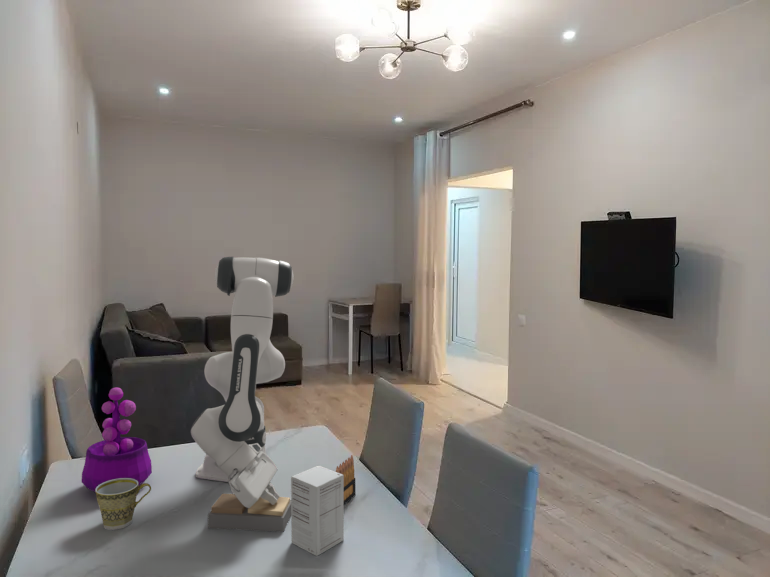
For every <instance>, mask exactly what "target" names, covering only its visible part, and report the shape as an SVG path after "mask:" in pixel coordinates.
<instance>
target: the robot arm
mask: <svg viewBox="0 0 770 577" xmlns="http://www.w3.org/2000/svg"><path fill="white" fill-rule="evenodd" d="M292 267H293V266H291V264H290V263H289V262H287V261H284V260H275V259H271V258H265V257H259V256H258V257H257V256H256V257H249V256H247V257H243V256H241V257H240V256H239V257H238V256H237V257H234V256H225V257H222V258H221V259H220V260H219V261H218V264H217V265H216V267H215V270H214V281H215V284H216V287H217V288H218V290H219V291H221V292H222V293H224V294H227V296H229V297H230V295H231V294H234V296H233V300H232V301H233V302H232V306H231V315H230V341H231V351H228V352H222V353H219V354H216V355H212V356H211V357H209V358H208V359H207V360H206V363H205V365H204V378H205V380H206V382H207V383H208V385H210V386H211V387H212V388H214V389H215V390H217V391H218V392H219V393H220V394H221V396H222V397H223V399H224V401H225V403H224V404H222V405H220V406H216V407H212V408H206V409H204V410H203V411H202V412H201V413H200V414H199V416H197V417H196V419H195V421H194V422H193V423H192V425H191V428H190V435H191V438H192V439H193V440H194V441H195V443H196V444H197V445H198V447H199V448H200V449H201V450H202V451H203V453H205V456H204V459H203V463H201V464H200V465H199V466H198V467H197V469H196V471H195V477H196V478H197V479H202V480H209V481H210V480H211V481H218V482H225V483H228V484H229V488H230V490H231V493H232V494H234V495H235V496H236V497H237V499H238V500H239V501H240V502H241V503H242V504H243V506H245V507H247V508H250V507H251V506H252V505H253V504H254V503H256V502H257V500H258V499H259V498H260V497H261V498H262V499H265V500H267V501H269V502H270V503H271V504H272V505H274V504H275V503H276V502H277V500H278V499H279V497H281V495H280V494H279V493H278V492H277V491H276V489H275V486H274V484H273V483H272V482H271V481H272V479H273V478H274V476H275V475H276V473H277V472H278V467H277V465H276V464H275V462H274V461H273V459H272V458H271V457H270V456H269V455H268V454H267V453H266V440H267V431H266V426H265V406H264V403H263V401H262V400H261V398H259V397H257V396H256V390H257V384H263V383H269V382H271V381H274V380H277V379H279V378H281V377H282V375H283V374H284V372H285V368H286V361H285V357H284V355H283V353H282V352H281V351H280V350H279V349H277V348H276V347H275V346H274V345H273V343H272V342H271V339H270V337H271V334H272V329H273V320H274V298H273V296H275V298H276V297H283V296H285V295H287V294H289V293H290V291H291V289H292V287H293V285H294V278H295V276H294V271H293V268H292Z"/></svg>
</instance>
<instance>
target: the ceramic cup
mask: <svg viewBox="0 0 770 577" xmlns="http://www.w3.org/2000/svg"><path fill="white" fill-rule="evenodd" d="M138 484H139V483H138V481H137V480H135V479H131V478H119V479H113V480H109V481H106V482H104V483H102V484H100V485H98V486H97V487H96V489H95V496H96V501H97V504H98V507H99V511H100V515H101V520H102V523H103V524H102V525H103V528H104V529H106V530H110V531H115V530H120V529H125V528H126V527H128V526H130V525H131V524H132V523H133V517H134V513H135V508H137V506H138V504H140V503H141V502H142V500H143V499H144V498H145V497H146V496H147V495H148V494H150V493H151V491H152V487H151V484H149V483H148V482H147V483H146V482H144V483H142V484H140V485H138ZM145 487H148V488H149V489H148V491H147V492H146V493H145V494H144V495H142V496H141V497H140V499H139V500H137V496H138V494H139V492H140V490H141V489H142V488H145ZM136 500H137V501H136Z"/></svg>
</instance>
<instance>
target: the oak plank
mask: <svg viewBox="0 0 770 577" xmlns="http://www.w3.org/2000/svg"><path fill="white" fill-rule="evenodd" d="M290 500H291V497H286V496H280V497H279V499H278V500H277V502H276V503H275V504H274V505H272V504H271V503H270V502H269V501H267V500H265V499H262V498H261V497H260V498H259V499H258V500H257V502H256V503H254V504H253V505H252V506H251V507H250V508H248V513H252V514H265V515H277V516H283V514H284V512H285V510H286V508H287V506H288V504H289V503H290Z"/></svg>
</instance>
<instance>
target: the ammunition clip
mask: <svg viewBox="0 0 770 577" xmlns="http://www.w3.org/2000/svg"><path fill="white" fill-rule="evenodd" d="M354 461H355V460H354V456H353V454H351V455H350V456H348V458H347V459H345V460H344V461H342V463H339V464H338V465H337V466H336V468H335V472H337V473H340V474H343V475H344V506H345V505H347V503H349V501H351V500H352V499H353V498H354V497H355V496H356V495H357V494H356V477H355V462H354Z"/></svg>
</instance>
